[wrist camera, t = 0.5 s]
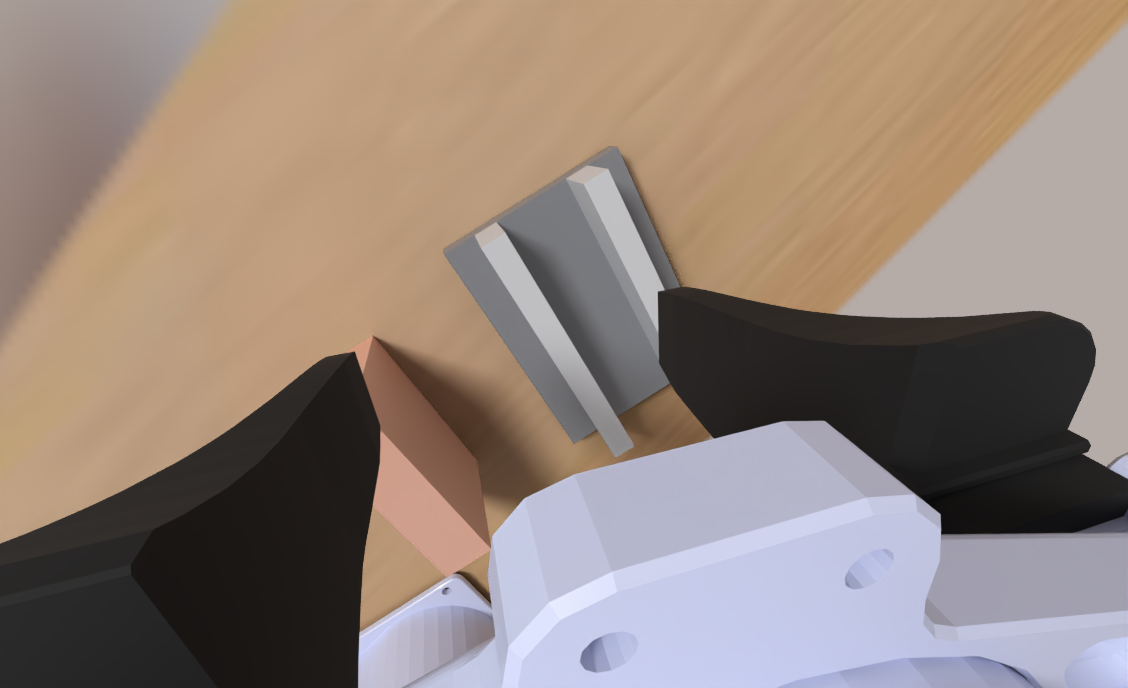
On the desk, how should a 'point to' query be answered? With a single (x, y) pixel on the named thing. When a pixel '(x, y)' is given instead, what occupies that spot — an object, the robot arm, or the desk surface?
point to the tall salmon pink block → (423, 469)
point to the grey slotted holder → (576, 293)
